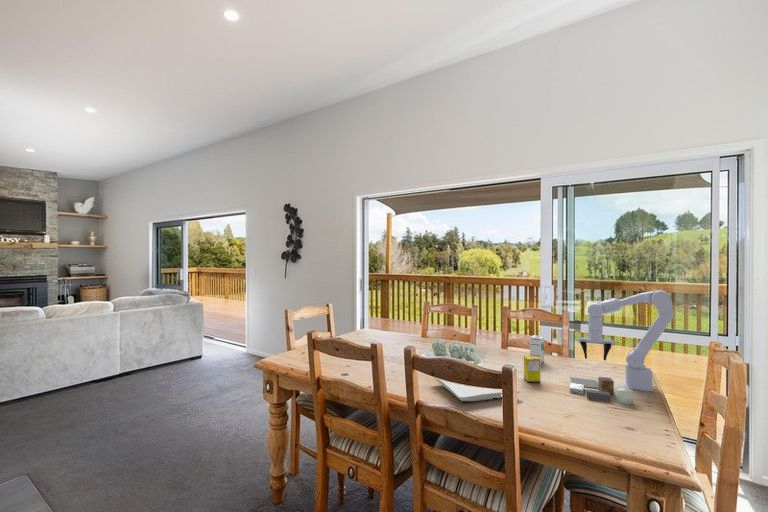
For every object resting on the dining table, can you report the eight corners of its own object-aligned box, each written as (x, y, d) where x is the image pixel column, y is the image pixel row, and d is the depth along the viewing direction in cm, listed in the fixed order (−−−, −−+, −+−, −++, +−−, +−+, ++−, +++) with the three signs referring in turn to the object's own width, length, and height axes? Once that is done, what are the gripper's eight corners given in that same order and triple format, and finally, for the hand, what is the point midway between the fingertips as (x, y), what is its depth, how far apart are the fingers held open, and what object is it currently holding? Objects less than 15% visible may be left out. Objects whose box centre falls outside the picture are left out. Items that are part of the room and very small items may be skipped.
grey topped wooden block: (571, 388, 164) (571, 382, 164) (584, 390, 161) (584, 384, 161) (569, 393, 158) (569, 387, 158) (582, 395, 155) (582, 389, 155)
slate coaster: (596, 381, 171) (596, 380, 171) (600, 389, 161) (600, 388, 161) (570, 378, 175) (570, 377, 175) (572, 386, 165) (572, 384, 165)
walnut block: (610, 391, 159) (610, 377, 159) (613, 395, 154) (613, 381, 154) (598, 390, 160) (598, 376, 160) (601, 394, 155) (601, 380, 155)
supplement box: (536, 378, 175) (536, 355, 174) (540, 383, 169) (540, 359, 169) (523, 378, 175) (523, 355, 175) (527, 382, 169) (527, 358, 169)
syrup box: (541, 365, 195) (541, 338, 195) (529, 363, 198) (529, 336, 198) (544, 363, 199) (544, 336, 199) (532, 361, 203) (532, 334, 203)
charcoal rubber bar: (608, 399, 151) (608, 392, 151) (610, 402, 148) (610, 394, 148) (586, 396, 154) (586, 389, 154) (587, 399, 151) (587, 391, 151)
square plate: (460, 406, 143) (460, 396, 143) (431, 383, 170) (431, 374, 170) (520, 399, 151) (520, 389, 151) (484, 377, 177) (484, 369, 177)
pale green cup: (630, 400, 149) (631, 387, 149) (634, 406, 144) (634, 393, 144) (613, 398, 152) (613, 385, 152) (616, 403, 146) (616, 390, 146)
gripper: (611, 329, 173) (611, 358, 174) (576, 326, 179) (576, 355, 179) (614, 332, 167) (614, 362, 167) (578, 329, 172) (578, 359, 173)
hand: (595, 359), depth 173 cm, fingers open, 7 cm apart
